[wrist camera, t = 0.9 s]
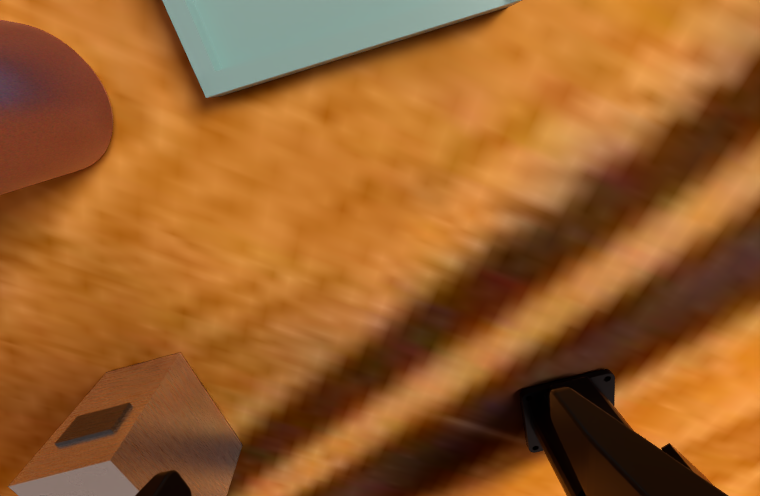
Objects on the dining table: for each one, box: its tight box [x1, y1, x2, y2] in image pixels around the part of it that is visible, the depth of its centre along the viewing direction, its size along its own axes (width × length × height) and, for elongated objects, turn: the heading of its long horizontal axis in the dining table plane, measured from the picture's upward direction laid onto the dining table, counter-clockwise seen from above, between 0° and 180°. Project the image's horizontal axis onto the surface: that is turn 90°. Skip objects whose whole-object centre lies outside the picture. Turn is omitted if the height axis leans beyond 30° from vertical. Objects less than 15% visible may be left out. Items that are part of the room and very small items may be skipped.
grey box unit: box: [8, 352, 242, 496], centre depth 21 cm, size 10×5×7 cm, turn 15°
